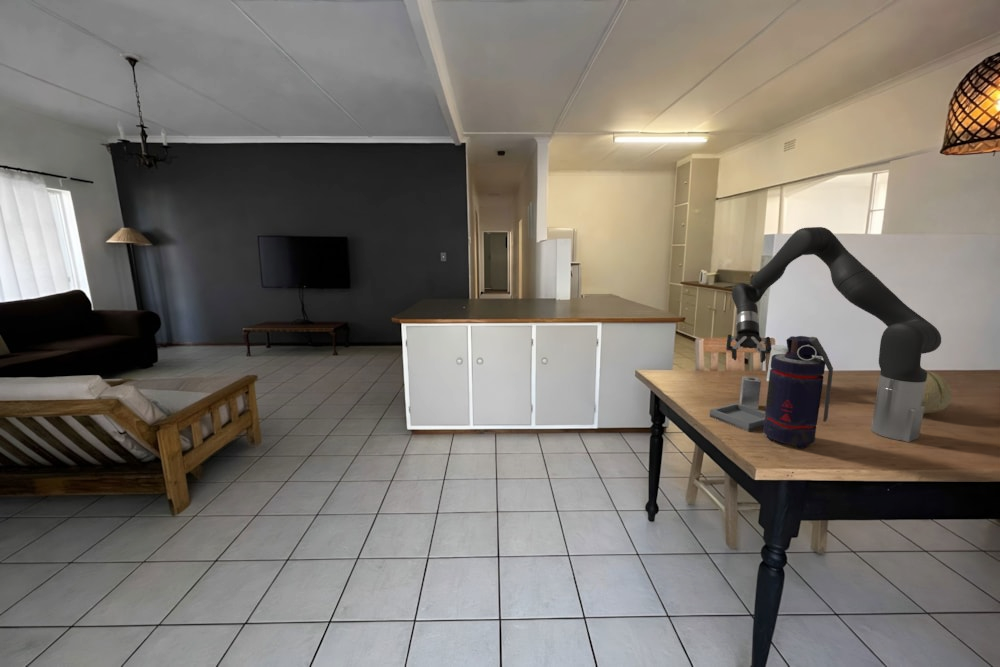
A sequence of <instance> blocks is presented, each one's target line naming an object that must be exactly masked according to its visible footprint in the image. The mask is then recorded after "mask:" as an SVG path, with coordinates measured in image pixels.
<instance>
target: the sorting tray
mask: <svg viewBox="0 0 1000 667" xmlns="http://www.w3.org/2000/svg"><path fill="white" fill-rule="evenodd" d="M765 416H766V415H765V412H764V411H761V410H759V409H758V410H757V409H753V408H750V407H747V406H744V405H741V404H740V403H737V402H735V403H731V404H727V405H722V406H718V407H714V408H711V409H709V418H712V417H713V418H712V419H715V418H716V419H715V420H717V419H718V421H720V422H722V421H723V422H722V423H725V424H728V425H730V424H731V425H730V426H733V425H734V426H733V427H735V426H736V428H738V427H739V428H738V429H740V428H741V430H743V429H744V431H746V430H747V431H746V432H752V431H755V430H759V429H762V428H764V421H765ZM761 427H762V428H761ZM758 428H759V429H758ZM754 429H755V430H754ZM751 430H752V431H751Z"/></svg>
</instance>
